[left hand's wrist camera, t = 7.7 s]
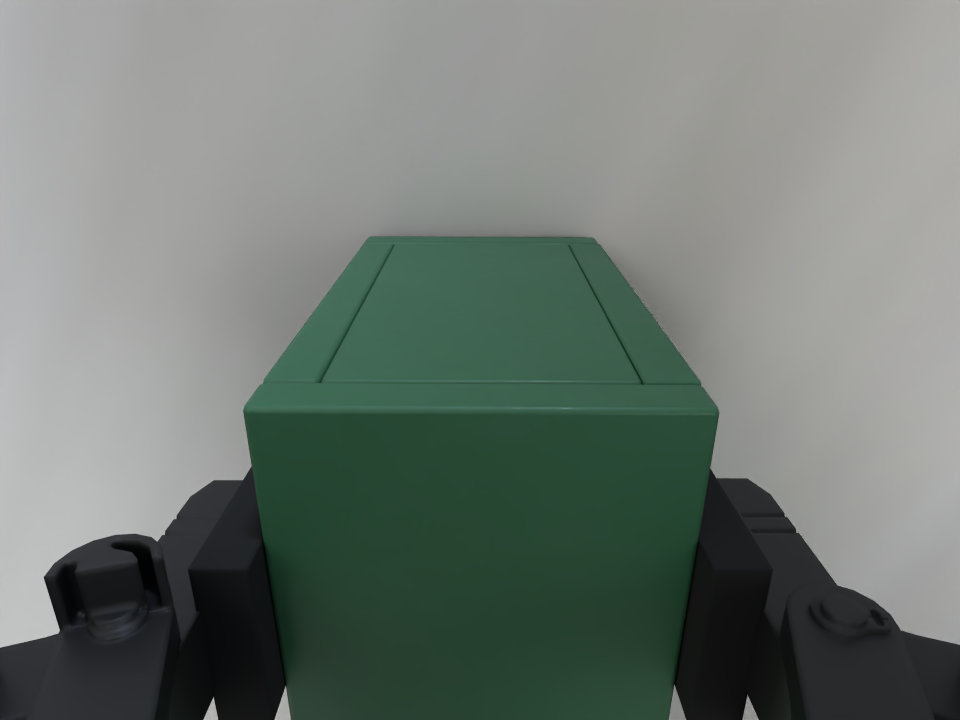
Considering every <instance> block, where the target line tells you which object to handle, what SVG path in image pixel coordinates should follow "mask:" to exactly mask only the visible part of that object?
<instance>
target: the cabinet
mask: <svg viewBox="0 0 960 720" xmlns="http://www.w3.org/2000/svg"><path fill="white" fill-rule="evenodd" d="M243 412H244V418H245V425H246V431H247V438H248V444H249V451H250V457H251V463H252V470H253V476H254V483H255V489H256V496H257V502H258V509H259V515H260V522H261V528H262V534H263V541H264V547H265V554H266V560H267V567H268V573H269V580H270V586H271V592H272V599H273V605H274V612H275V618H276V625H277V631H278V638H279V644H280V650H281V657H282V663H283V670H284V676H285V683H286V689H287V696H288V702H289V709H290V715H291V720H668V719H669V713H670V707H671V701H672V695H673V689H674V683H675V677H676V671H677V665H678V659H679V653H680V647H681V641H682V635H683V629H684V623H685V617H686V611H687V605H688V598H689V592H690V586H691V580H692V574H693V568H694V562H695V556H696V550H697V544H698V538H699V532H700V526H701V520H702V514H703V508H704V502H705V496H706V490H707V484H708V478H709V472H710V466H711V460H712V454H713V447H714V441H715V435H716V429H717V423H718V417H719V410H718V407H717V406H716V405H715V403H714V402H713V400H712V399H711V398H710V396H709V395H708V394H707V392H706V391H705V389H704V388H703V387H701V382H700V380H699V379H698V378H697V376H696V375H695V373H694V372H693V371H692V369H691V368H690V367H689V365H688V364H687V363H686V361H685V360H684V358H683V357H682V356H681V354H680V353H679V352H678V350H677V349H676V348H675V346H674V345H673V344H672V342H671V341H670V339H669V338H668V337H667V335H666V334H665V333H664V331H663V330H662V329H661V327H660V326H659V324H658V323H657V322H656V320H655V319H654V318H653V316H652V315H651V314H650V312H649V311H648V309H647V308H646V307H645V305H644V304H643V303H642V301H641V300H640V299H639V297H638V296H637V295H636V293H635V292H634V290H633V289H632V288H631V286H630V285H629V284H628V282H627V281H626V280H625V278H624V277H623V275H622V274H621V273H620V271H619V270H618V269H617V267H616V266H615V265H614V263H613V262H612V261H611V259H610V258H609V256H608V255H607V254H606V252H605V251H604V250H603V248H602V247H601V246H600V245H599V244H598V243H597V241H596V240H595V239H594V238H563V237H369V238H368V239H367V240H366V242H365V243H364V245H363V246H362V247H361V248H360V250H359V251H358V253H357V254H356V255H355V257H354V258H353V259H352V261H351V262H350V263H349V265H348V266H347V267H346V269H345V270H344V272H343V273H342V274H341V276H340V277H339V278H338V280H337V281H336V282H335V284H334V285H333V287H332V288H331V289H330V291H329V292H328V293H327V295H326V296H325V297H324V299H323V300H322V301H321V303H320V304H319V306H318V307H317V308H316V310H315V311H314V312H313V314H312V315H311V316H310V318H309V319H308V320H307V322H306V323H305V325H304V326H303V327H302V329H301V330H300V331H299V333H298V334H297V335H296V337H295V338H294V339H293V341H292V342H291V344H290V345H289V346H288V348H287V349H286V350H285V352H284V353H283V354H282V356H281V357H280V358H279V360H278V361H277V363H276V364H275V365H274V367H273V368H272V369H271V371H270V372H269V373H268V375H267V376H266V377H265V379H264V382H263V384H261V385H260V386H259V387H258V388H257V390H256V391H255V392H254V394H253V395H252V396H251V398H250V399H249V401H248V402H247V403H246V405H245V407H244V410H243Z"/></svg>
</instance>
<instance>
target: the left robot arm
mask: <svg viewBox="0 0 960 720" xmlns="http://www.w3.org/2000/svg"><path fill="white" fill-rule="evenodd" d="M44 580H45V583H46V586H47V589H48V593H49V596H50V599H51V602H52V606H53V609H54V612H55V615H56V619H57V622H58V625H59V628H60V632H59V634H56V635H52V636H49V637H45V638H41V639H37V640H32V641H28V642H24V643H19V644H15V645H10V646H6V647H2V648H0V720H203V719H204V717H205V714H206V712H207V710H208V708H209V706H210V703H211V701H212V699H213V697H214V700H215V705H216V710H217V715H218V720H274V719H275V716H276V713H277V710H278V707H279V704H280V701H281V698H282V695H283V692H284V689H285V686H286V683H285V676H284V670H283V663H282V657H281V650H280V644H279V638H278V631H277V625H276V618H275V612H274V605H273V599H272V592H271V586H270V580H269V573H268V567H267V560H266V554H265V547H264V541H263V534H262V528H261V522H260V515H259V509H258V502H257V496H256V489H255V483H254V476H253V470H252V467H251V469H250V470H249V472H248V473H247V475H246V477H245V478H244V480H214V481H212V482H211V483H210V484H208V485H207V486H205V487H204V488H202V489H201V490H199V491H198V492H197V493H195V494H194V495H192V496H191V497H190V498H189V500H188V501H187V502H186V504H185V505H184V506H183V508H182V509H181V510H180V512H179V513H178V515H177V519H174V520H173V521H172V523H171V524H170V526H169V527H168V528H167V530H166V531H165V535H162V536H161V538H160V539H159V541H158V542H157V541H155V540H154V539H153V538H152V537H148V536H143V535H139V534H125V535H114V536H110V537H106V538H102V539H98V540H94V541H92V542H90V543H87V544H85V545H83V546H81V547H79V548H77V549H74V550H72V551H71V552H69V553H68V554H67V555H65V556H64V557H62V558H61V559H60V560H58V561H57V562H56V563H54V565H53V566H52V567H51V568H50V570H49V571H48V572H47V574H46V575H45V576H44ZM674 684H675V687H676V690H677V693H678V696H679V699H680V702H681V705H682V708H683V711H684V714H685V717H686V720H742V718H743V714H744V709H745V704H746V699H747V694H748V696H749V699H750V701H751V703H752V705H753V707H754V710H755V712H756V714H757V716H758V719H759V720H960V645H957V644H953V643H949V642H944V641H940V640H935V639H931V638H927V637H922V636H918V635H914V634H911V633H907V632H904V631H901V630H900V628H899V627H898V625H897V624H896V622H895V621H894V619H893V618H892V616H891V615H890V614H889V613H888V612H887V611H886V610H884V609H883V608H882V607H881V606H879V605H878V604H877V603H876V602H875V601H873V600H871V599H869V598H867V597H865V596H864V595H862V594H860V593H858V592H856V591H854V590H851V589H847V588H844V587H840V586H837V584H836V583H835V582H834V580H833V579H832V578H831V576H830V575H829V573H828V572H827V571H826V569H825V568H824V567H823V565H822V564H821V563H820V561H819V560H818V558H817V557H816V556H815V554H814V553H813V552H812V550H811V549H810V548H809V546H808V545H807V544H806V542H805V541H804V539H803V538H802V537H801V535H800V534H799V533H796V529H795V527H794V526H793V524H792V523H791V522H790V520H789V519H788V518H787V517H785V516H784V512H783V511H782V510H781V508H780V507H779V505H778V504H777V503H776V501H775V500H774V499H773V497H772V496H771V495H770V494H769V493H767V492H766V491H765V490H763V489H762V488H760V487H759V486H757V485H756V484H754V483H753V482H751V481H750V480H749V479H716V477H715V475H714V474H713V472H712V471H711V469H710V472H709V478H708V484H707V490H706V496H705V502H704V508H703V514H702V520H701V526H700V532H699V538H698V544H697V550H696V556H695V562H694V568H693V574H692V580H691V586H690V592H689V598H688V605H687V611H686V617H685V623H684V629H683V635H682V641H681V647H680V653H679V659H678V665H677V671H676V677H675V683H674Z"/></svg>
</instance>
